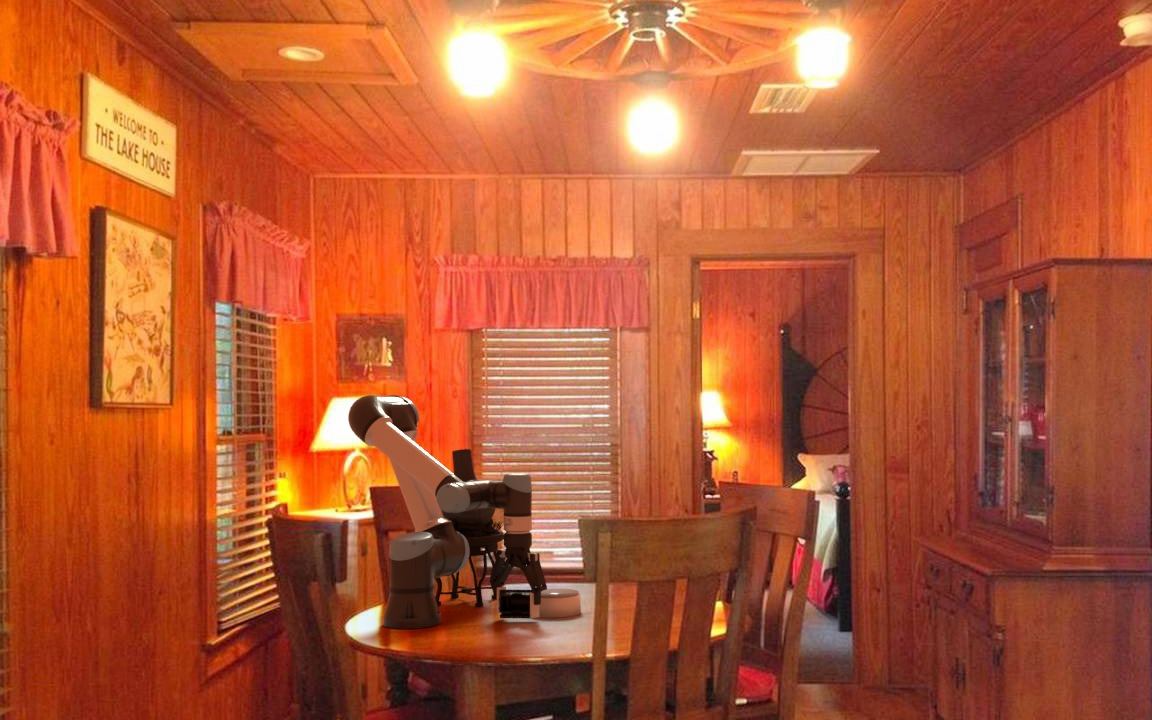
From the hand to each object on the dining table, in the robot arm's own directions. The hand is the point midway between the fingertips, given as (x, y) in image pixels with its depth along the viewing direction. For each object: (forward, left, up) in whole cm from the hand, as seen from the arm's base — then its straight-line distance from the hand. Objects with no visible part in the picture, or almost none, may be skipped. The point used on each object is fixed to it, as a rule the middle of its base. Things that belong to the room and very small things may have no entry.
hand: (517, 614), depth 280 cm
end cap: (0, 0, -1) cm, 1 cm away
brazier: (-35, +13, -2) cm, 37 cm away
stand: (-1, +15, -2) cm, 15 cm away
